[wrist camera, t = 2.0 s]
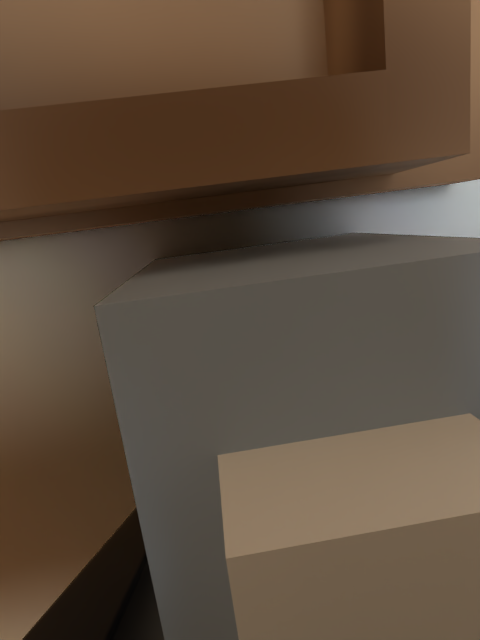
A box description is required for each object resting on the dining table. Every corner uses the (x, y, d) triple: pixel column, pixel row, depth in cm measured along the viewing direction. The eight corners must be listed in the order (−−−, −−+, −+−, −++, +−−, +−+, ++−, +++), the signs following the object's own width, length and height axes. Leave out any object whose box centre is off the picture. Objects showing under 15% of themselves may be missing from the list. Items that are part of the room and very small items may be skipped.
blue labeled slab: (376, 622, 11) (599, 1124, 5) (223, 652, 11) (256, 1224, 4) (352, 232, 8) (728, 248, 2) (156, 258, 8) (36, 348, 2)
